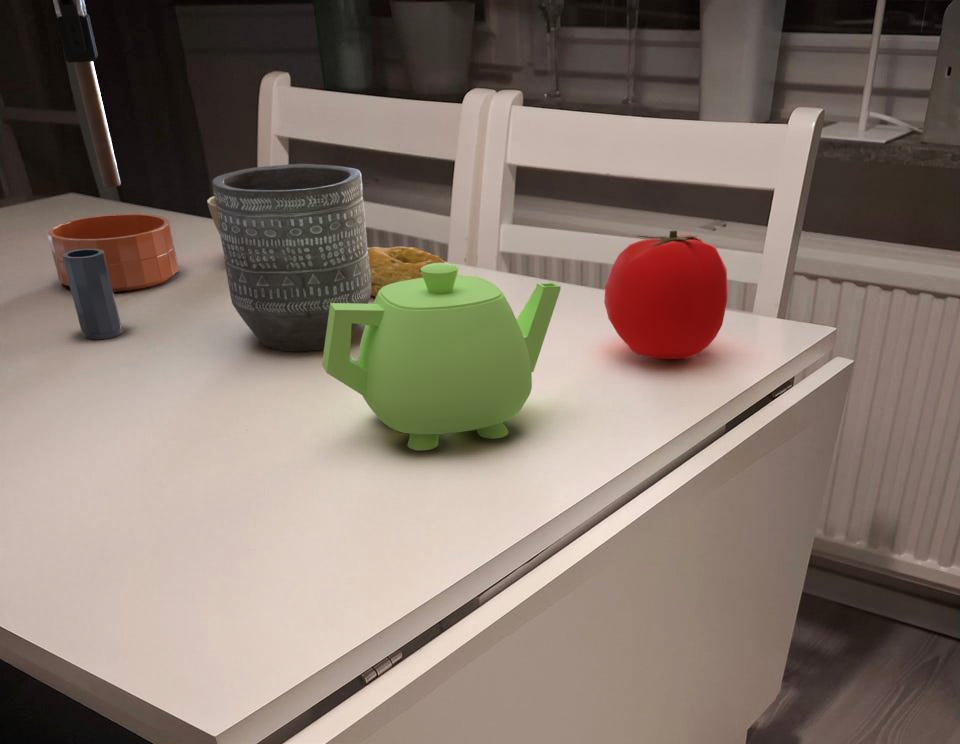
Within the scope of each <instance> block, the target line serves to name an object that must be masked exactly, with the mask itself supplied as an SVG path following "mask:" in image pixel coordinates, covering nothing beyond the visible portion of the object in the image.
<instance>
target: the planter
mask: <svg viewBox="0 0 960 744" xmlns="http://www.w3.org/2000/svg"><path fill="white" fill-rule="evenodd" d="M211 184H212V189H213V196H215V202H216V205H217V206H216V209H217V216H218V223H219V230H220V234H219V236H220V240H221V241H220V242H221V246H222V252H223V256H224V260H225V261H224V264H225V270H226V279H227V284H228V290H229V295H230V301H231V304H232V306H233V307H234V309H235V311H236V312H237V314H239V315H238V316H240V318H241V319H242V321H243V323H245V325H246V326H247V327H248V328H249V329H250V331H251V332H252V333H253V335H254V336H255V337H256V338H257V339H258V340H259V341H260V343H261V344H262V346H265V347H267V348H269V349H272V350H276V351H283V352H294V353H295V352H299V353H300V352H314V351H321V350H324V346H325V339H326V331H327V324H328V316H329V309H330V303H356V304H369V302H370V299H371V297H372V295H371V276H370V265H369V257H368V251H367V249H369V248H368V237H367V236H368V235H367V225H366V224H367V223H366V222H367V221H366V212H365V202H364V201H365V200H364V197H363V195H364V193H363V191H364V190H363V177H362V173H361V171H360V170H359V169H357V168H353V167H347V166H341V165H333V164H314V163H290V164H277V165H267V166H256V167H249V168H244V169H238V170H234V171H231V172H226V173H224V174H223V173H222V174H220V175H218V176H216V177H214V178H213V179H212V182H211ZM359 325H360V324H354V323H352V325H351V339H352V338H353V337H354V334H355V332H357V329H358V327H359Z"/></svg>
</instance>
